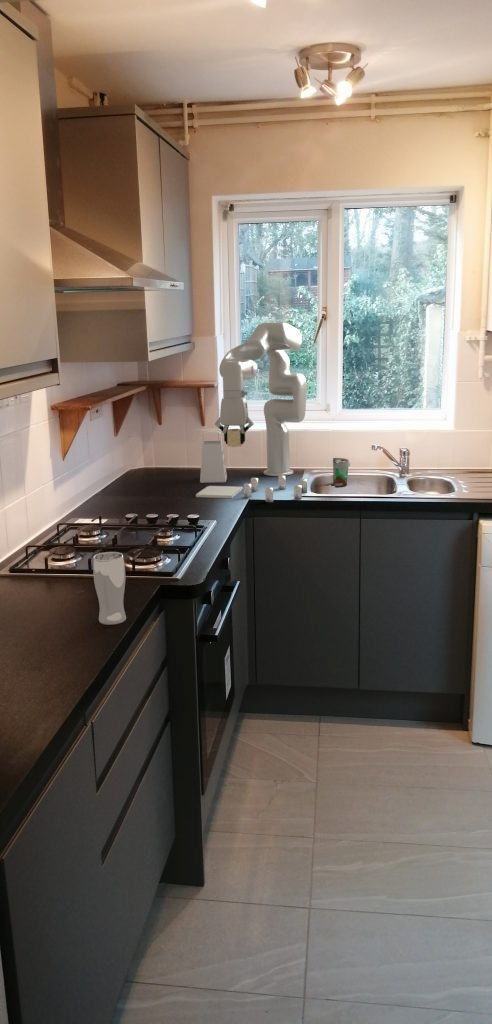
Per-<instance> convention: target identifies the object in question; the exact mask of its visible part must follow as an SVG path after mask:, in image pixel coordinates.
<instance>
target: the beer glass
mask: <svg viewBox="0 0 492 1024" xmlns="http://www.w3.org/2000/svg"><path fill="white" fill-rule="evenodd" d="M92 559H93V564H92V566H93V567H92V569H93V572H92V574H93V582H94V588H95V591H96V594H97V598H98V604H99V615H98V622H99V624H102V625H106V626H107V625H111V626H112V625H113V626H114V625H118V624H121V623H124V622H125V621H126V619H127V615H126V611H125V607H124V597H125V596H124V594H125V586H126V567H125V560H124V555H123V553H122V552H118V551H107V552H106V551H105V552H104V551H103V552H99V553H97V554H95V555H93V557H92Z"/></svg>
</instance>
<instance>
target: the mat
mask: <svg viewBox="0 0 492 1024" xmlns="http://www.w3.org/2000/svg"><path fill="white" fill-rule="evenodd" d="M242 489H243V490H244V486H231V485H230V486H229V485H226V486H224V485H207V486H206V487H205V488H203V489H202V490H200V491H199V492H197V493H196V494H195V498H212V499H213V498H214V499H215V498H216V499H233V498H234V497H235V496H237V495H238V494H239V493H240V492H241V491H243V490H242Z"/></svg>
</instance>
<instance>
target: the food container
mask: <svg viewBox="0 0 492 1024" xmlns="http://www.w3.org/2000/svg"><path fill="white" fill-rule="evenodd" d="M350 466H351V464H350V461H349V459H348V458H345V457H333V458H332V470H333V471H332V479H333V480H332V481H333V482H332V483H333V486H334V488H336V489H337V488H345V487H347V486H348V476H349V467H350Z"/></svg>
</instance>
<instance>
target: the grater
mask: <svg viewBox="0 0 492 1024" xmlns="http://www.w3.org/2000/svg"><path fill="white" fill-rule="evenodd" d="M206 433H218V434H220V436H222V432H221V431H219V430H215V431H213V430H212V431H211V430H209V431H208V430H207V431H205V432H204V433H203V434H202V446H201V447H202V448H201V462H200V463H201V465H200V476H199V477H200V478H199V483H226V481H227V478H228V474H227V467H226V460H225V453H224V447H223V446H224V445H223V441H222V438H220V440H204V439H205V438H204V434H206Z"/></svg>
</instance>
